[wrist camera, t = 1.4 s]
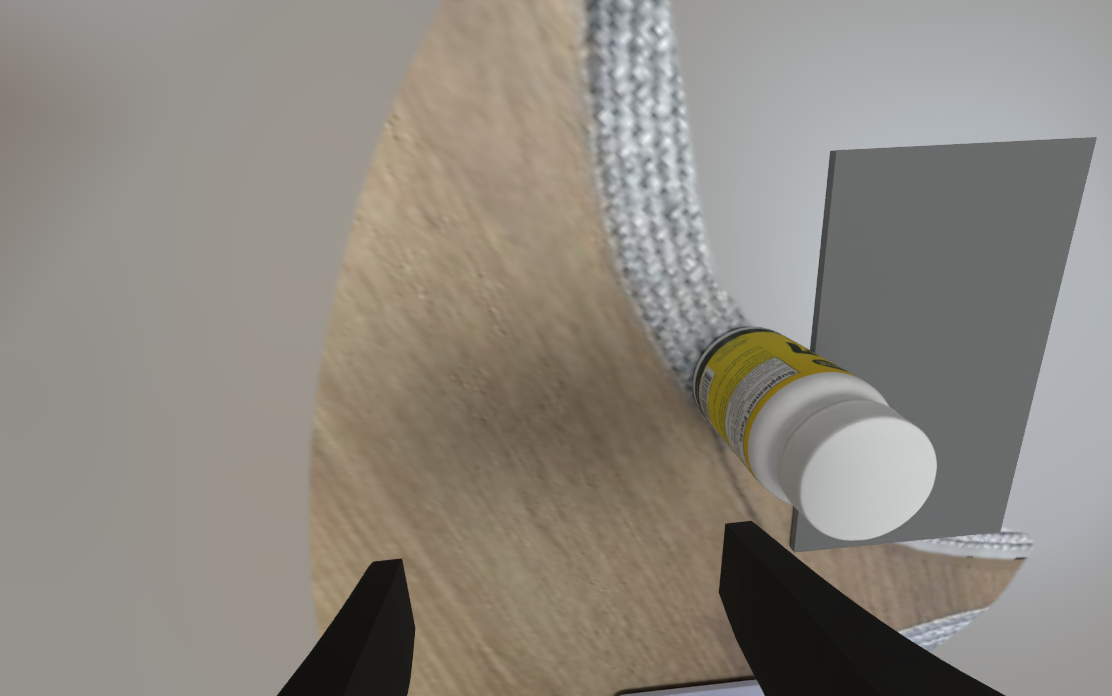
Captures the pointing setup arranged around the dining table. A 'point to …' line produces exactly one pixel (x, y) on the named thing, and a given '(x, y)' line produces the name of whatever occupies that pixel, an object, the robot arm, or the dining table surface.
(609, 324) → the dining table surface
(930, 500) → the mat
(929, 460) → the supplement bottle
